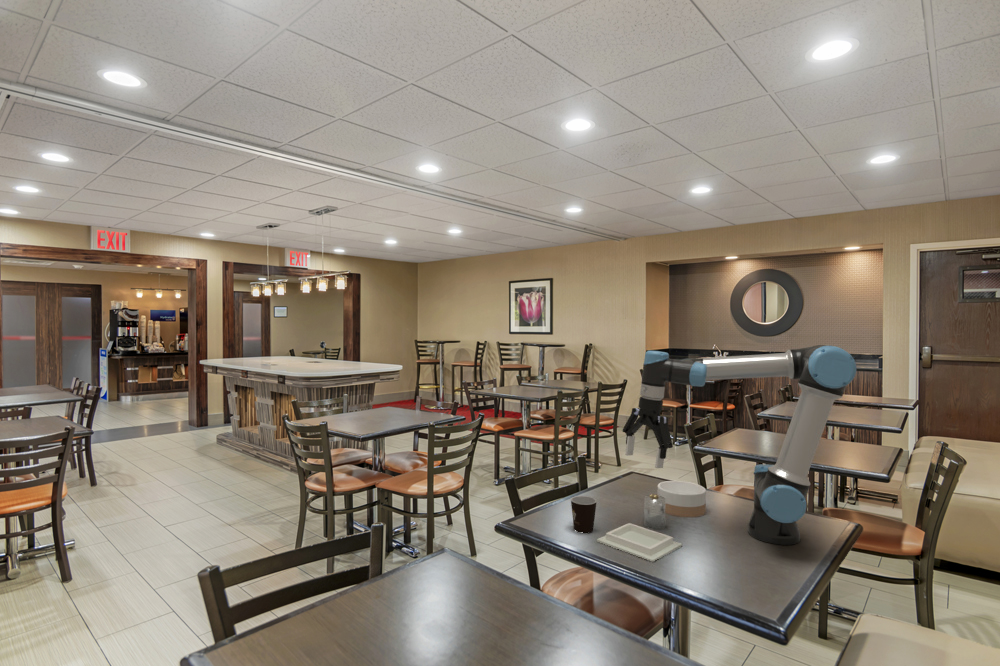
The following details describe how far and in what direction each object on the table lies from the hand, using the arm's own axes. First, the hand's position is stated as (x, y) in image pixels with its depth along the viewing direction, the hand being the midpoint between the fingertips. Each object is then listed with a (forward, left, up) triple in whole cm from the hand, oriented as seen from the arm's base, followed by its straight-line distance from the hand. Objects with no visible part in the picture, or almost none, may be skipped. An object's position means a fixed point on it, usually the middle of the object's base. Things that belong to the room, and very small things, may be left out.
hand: (643, 461), depth 171 cm
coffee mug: (+16, +11, -24) cm, 31 cm away
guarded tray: (-4, +8, -24) cm, 26 cm away
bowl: (+3, -31, -24) cm, 40 cm away
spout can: (+1, -9, -24) cm, 26 cm away
